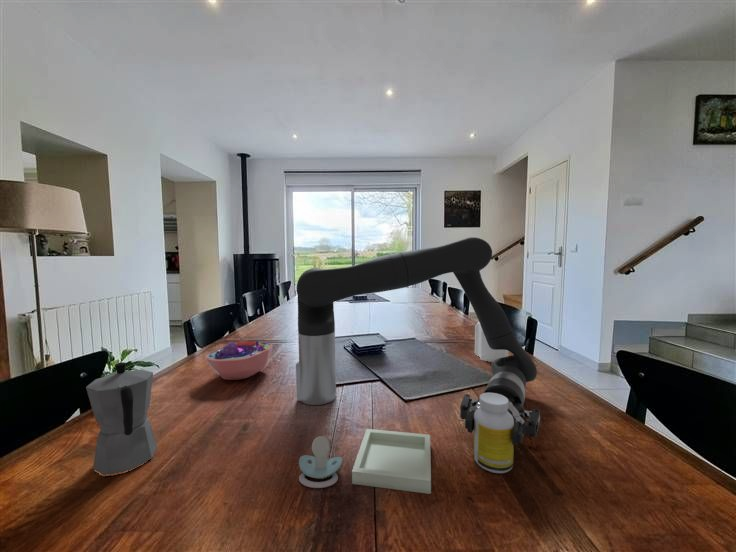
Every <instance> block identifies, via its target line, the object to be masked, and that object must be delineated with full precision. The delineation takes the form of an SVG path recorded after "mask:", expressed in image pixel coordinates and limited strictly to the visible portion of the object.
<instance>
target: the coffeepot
mask: <svg viewBox="0 0 736 552" xmlns="http://www.w3.org/2000/svg"><path fill="white" fill-rule="evenodd" d="M126 366H127V362H118V363H115V364H114V368H115V371H113V372H111V373H109V375H106V376H102V377H99V378H96V379H94V380H93V381H92V382H90V383H89V384H88V385H87V386H86V387H85V388H86V392H87V396H88V399H89V402H90V406H91V410H92V414H93V416H94V420H95V423H97V424H99V431H98V434H97V437H96V438H97V439H96V446H95V453H94V459H93V466H92V470H93V469H94V470H96V471H98V472H100V473H101V474H103V475H106V474H114V473H119V472H124V471H127V470H128V471H129V470H131V469H133V468H135V467H137V466H139V465H141V464H143V463H145V462H147V461H148V460H150V459H151V460H152V459H153V458H152V457H154V456H155V455H154V453H155V454H156V452H157V449H158V444H157V441H156V438H155V434H154V430H153V428H152V425H151V421H150V418H148V410H149V409H150V402H151V394H152V385H153V376H154V372H153V371H149V370H146V369H135V370H134V369H133V370H127V369H126V368H127V367H126ZM155 451H156V452H155ZM153 455H154V456H153ZM151 460H150V461H151ZM148 462H149V461H148ZM148 462H147V463H148Z"/></svg>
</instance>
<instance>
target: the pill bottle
mask: <svg viewBox="0 0 736 552" xmlns="http://www.w3.org/2000/svg"><path fill="white" fill-rule="evenodd" d="M479 398H480V400H479V403H480V406H481V407H479V408H478V409H477V410H476V411H475V413H474V430H473V459H474V461H475V462H476V464H477V465H478V466H479V467H480V468H481V469H483V470H486V471H487V472H490V473H494V474H505V473H506V474H507V473H508V472H510V471H511V470H512V469H513V467H514V457H515V456H514V451H515V450H514V449H515V448H514V446H515V445H513V444H512V433H513V428H514V419H513V417H512V415H511V414H510V413H509V412H508V411H507V410H508V408H509V401H508V399H507V398H506V397H505V396H503V395H500V394H497V393H484V392H483V393H481V394H480V395H479Z"/></svg>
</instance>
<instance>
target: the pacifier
mask: <svg viewBox="0 0 736 552" xmlns="http://www.w3.org/2000/svg"><path fill="white" fill-rule="evenodd" d="M311 451H312V453H313V455H314V456H313V455H305V454H303V455H301V456H300V457H299V459H298V465H299V469H300V470H301V474H300V475H299V476H298V481H299V482H300V484H302V485H303V486H305V487H308V488H312V489H323V488H324V489H325V488H328V487H330V486H331V487H332V486H333V485H334V484H336V483H337V481H338V480H339V476H338V474H337V471H338V470H339V469H340V467H341V466H342V464H343V462H344V461H343V457H342V456H335V457H331V458H329V459H328V454H329V451H330V442H329V440H328V438H327V437H326V436H324V435H320V436H319V435H318V436H316V437H315V438H314V440H313V441H312V444H311ZM309 462H311V463H309ZM306 477H309V478H312V479H316V480H323V481H312V480H309V479H307V478H306ZM327 477H328V478H330V477H331V478H330V479H328V478H327ZM324 478H325V479H327V480H325V481H324Z"/></svg>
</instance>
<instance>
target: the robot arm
mask: <svg viewBox="0 0 736 552" xmlns="http://www.w3.org/2000/svg"><path fill="white" fill-rule="evenodd" d="M492 257H493V249H492V246H491V245H490V243H489V242H487V241H486V240H484V239H482V238H480V237H472V236H471V237H466V238H463V239H460V240H457V241H454V242H450V243H446V244H443V245H440V246H435V247H427V248H419V249H418V248H417V249H414V250H407V251H401V252H399V251H398V252H395V253H390V254H384V255H380V256H377V257H374V258H371V259H368V260H365V261H362V262H360V263H358V264H354V265H350V266H346V267H338V268H327V269H323V268H319V267H317V268H315V267H313V268H309V269H307V270H305V271H304V272H302V273H301V275H300V276H299V278H298V280H297V282H296V288H295V289H296V295H297V333H298V334H297V336H298V339H297V341H298V361H297V363H295V379H296V380H295V382H296V401H297V402H301V403H303V404H305V405H309V406H320V405H326V404H328V403H330V402H333V401H334V400H335V399H336V397H337V382H336V381H337V377H336V376H337V375H336V374H337V372H336V329H335V328H336V325H335V321H336V320H335V312H334V311H335V310H334V308H335V307H334V303H335V302H337V301H342V300H344V299H348V298H351V297H354V296H359V295H366V294H367V295H368V294H369V295H370V294H376V293H383V292H388V291H395V290H398V289H399V290H400V289H403V288H409V287H411V286H415V285H418V284H421V283H424V282H426V281H429V280H432V279H434V278H437V277H440V276H443V275H446V274H449V273H453V274H454V277H455V278H456V280H457V281H458V284H460V287H461V288H462V290H463V292H464V294H465V296H466V297H467V299H468V301H469V302H470V305H471V307H472V308H473V310H474V311H473V312H474V313H475V315H476V317H477V320H478V322H480V325H481V328H482V330H483V333H484V335H485V338H486V340H487V343H488V345H489V347H490V348H491V349H494V350H508V351H509V353H511V355H509V356H507V357H502V358H498V359H496V360H494V361H493V362H491V365H490V369H491V374H492V377H491V379H489V381H488V384H487V385H486V387H485V390H484V391H483V393H497V394H500V395H503V396H505V397H506V398H507V399H508V401H509V408H508V410H507V411H508V412H509V413H510V414H511V415H512V417H513V419H514V428H513V433H512V444H513V445H514V446H518V444H522V443H523V439H524V436H525V434H527V435H528V436H529V437H531V438H536V437H537V434H538V430H539V428H540V424H541V410H540V409H538V408H532V410H526V409H525V408H524V404H525V400H526V399H525V398H526V385H527V383H529V382H533V381H534V380H536V379H537V375H538V369H537V366H536V364H535V362H534V361H533V359H532V358H531V356H529V354H528V352H526V351H525V349H524V348H523V346H522V345H521V343H520V342H519V341H518V339H517V337H516V335H515V333H514V331H513V328H512V326H511V324H510V321H509V318H508V315H507V314H506V312H505V311H504V309H503V308H502V307H501V305H500V304H499V302H498V301H497V300H496V299H495V297H493V295H492V294H491V292H490V291H489V290H488V288H487V287H486V285H485V282H484V281H483V278H482V275H481V272H480V271H482V270H483V269H484V268H486V267H487V266H488V265H489V263H490V262H491V260H492ZM479 400H480V397H478V398H477V399H475V398H472V397H471V394H469V393H465V394H464V395H463V397H462V400H461V403H460V404H459V406H460V409H459V411H460V413H459V415H460V416H459V419H461V420H464V429H466V430H467V431H466V432H467V433H470V434H472V433H474V413H475V411H476V410H477V409H478V408H479V407H481V406H480V403H479ZM524 418H526V420H527V421H525V420H524Z"/></svg>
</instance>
